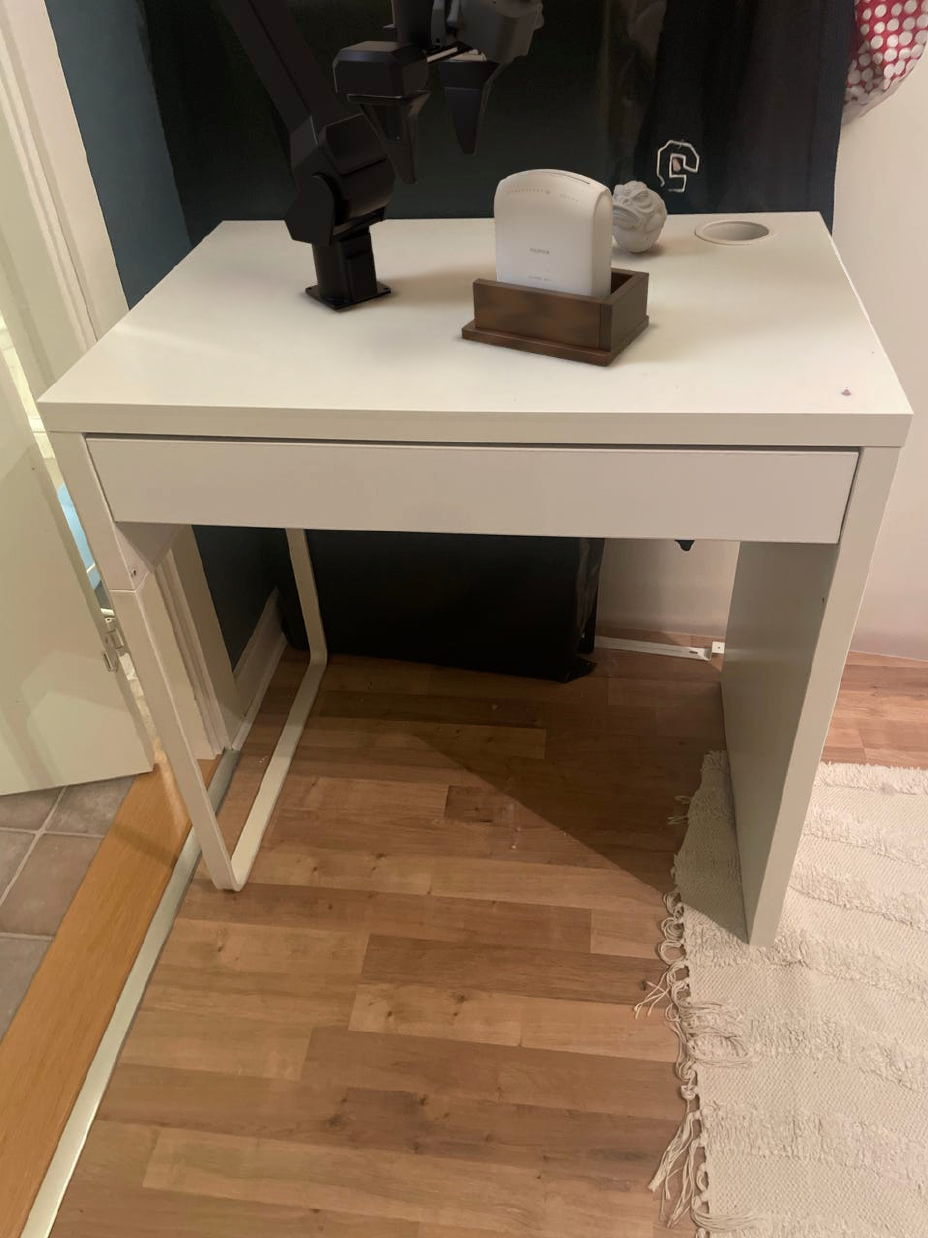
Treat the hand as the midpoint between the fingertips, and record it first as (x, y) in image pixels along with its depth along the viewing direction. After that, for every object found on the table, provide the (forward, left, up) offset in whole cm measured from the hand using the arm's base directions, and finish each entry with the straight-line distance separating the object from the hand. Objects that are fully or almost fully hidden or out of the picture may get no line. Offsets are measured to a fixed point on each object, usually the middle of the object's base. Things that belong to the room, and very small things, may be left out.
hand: (440, 168), depth 80 cm
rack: (+9, +5, -13) cm, 17 cm away
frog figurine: (-1, +24, -13) cm, 27 cm away
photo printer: (+9, +5, -12) cm, 16 cm away
